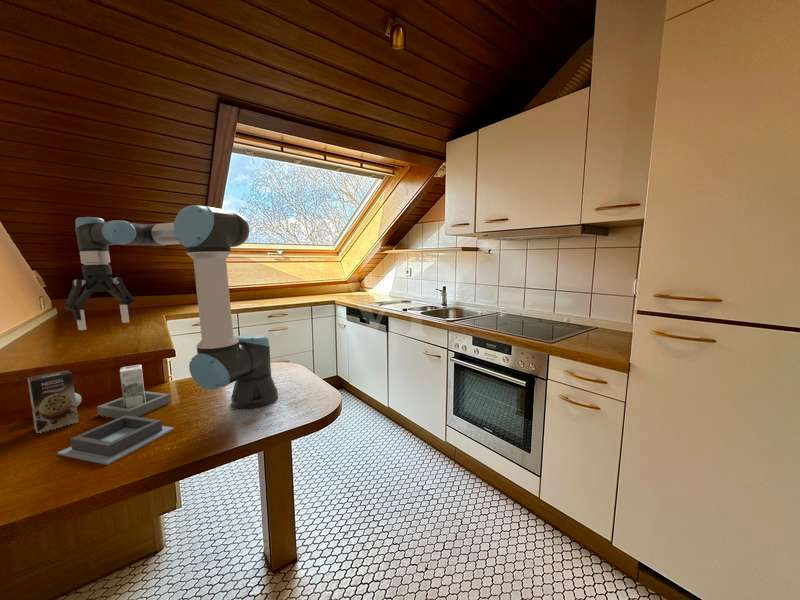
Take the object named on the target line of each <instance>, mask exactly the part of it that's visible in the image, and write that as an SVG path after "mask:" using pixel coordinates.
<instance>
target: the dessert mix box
mask: <svg viewBox="0 0 800 600" xmlns="http://www.w3.org/2000/svg"><path fill="white" fill-rule="evenodd" d="M27 382H28V383H27V384H28V391H29V397H30V403H31V404H30V405H31V406H30V407H31V412H32V413H31V414H32V421H33V426H34V427H33V428H34V430H35V432H36V433H40V434H43V433H42V432H44V433H47V432H49V430H51V431H54V430H57V429H56V428H58V429H60V427H61V428H64V427H63V426H65V427H67V426H66V425H68V426H71V425H70V424H72V425H74V423H75V424H78V423H80V422H79V416H78V415H79V414H78V408H77V407H78V406H76V399H75V393H76V392H75V385H74V378H73V373H72V372H71V371H70V370H69V369H65V370H64V369H63V370H60V371H54V372H49V373H44V374H39V375H32V376H27ZM53 429H54V430H53ZM46 431H47V432H46Z"/></svg>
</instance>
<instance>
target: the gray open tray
mask: <svg viewBox="0 0 800 600" xmlns="http://www.w3.org/2000/svg"><path fill="white" fill-rule="evenodd" d="M144 392H145V400H146V403H143V404H141V405H138V406H136V407H134V408H131V409H127V408H124V401H123V396H122V397H119V398H116V399H114V400H111V401H109V402H105V403H103V404H100V405H97V407H96V409H97V416H98V415H100V416H99V417H104V416H105V418H110V417H111V419H117V418H120V417H122V416H124V415H129V416H136V417H141V416H144V415H145V414H147V413H150V412H153V411H154V410H157V409H159V408H161V407H163V406H166V405H169V404H170V403H172V401H171V400H172V399H171V393H164V392H157V391H156V392H154V391H146V390H144Z"/></svg>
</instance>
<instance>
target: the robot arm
mask: <svg viewBox="0 0 800 600" xmlns="http://www.w3.org/2000/svg"><path fill="white" fill-rule="evenodd" d="M74 222H75V228H74V229H75V234H76V239H77V246H78V250H79V257H80V263H81V264H83V265H82V266H81V270H82V271H81V272H82V276H83V279H73V280H72V287H71V290H70V292H69V294H68V295H67V296H68V297H67V298H66V301H65V304H64V306H63V309H65V310H68V311H69V310H70V311H72V316H73V320H74V321H76V325H77V329H78V331H85V330H86V331H87V324H86V317H85V316H86V315H85V311H84V309H82V308H83V306H84V305H85V303H86V302H87V301H88V300H89V298H90V297H91V296H92V295H93V294H94V293H99V292H107V293H109V294H110V295H112V297H114V299H116V300H117V301H118V302H119V303H120V304H119V310H120V316H121V318H120V319H121V323H124V324H125V323H130V315H129V313H131V308H130V305H131V304H132V303H133V302H136V300H135V298H134V297H133V294H131V292H130V291H129V289H128V288H127V287H126V285H125V284H124V281H123V278H122V277H120V276H119V277H114V278H113V277H112V276H113V275H112V274H113V272H112V266H111V265H110V263H111V258H110V257H111V256H110V251H109V250H110V249H109V246H115V245H116V246H117V245H119V246H121V245H122V246H154V247H161V246H167V245H168V246H169V245H182V246H183V247H185V251H186V253H185V254H186V255H187V256H189V257H190V258H191V259H192V260H193V269H194V280H195V288H196V297H197V307H198V308H197V309H198V316H199V325H200V335H201V340H200V341H198V343H197V345H196V354H195V355H194V356H193V357H192V358H191V359H190V361H189V365H188V367H189V368H188V369H189V373H190V376H191V378H192V379H193V381H194V383H196V384H197V385H198V386H199V387H201V388H203V389H205V390H209V391H215V390H219V389H221V388H224V387H226V386H228V385H230V384H233V383H234V385H233V389H232V394H231V398H230V400H231V403H230V404H231V406H232V407H234V408H236V409H240V410H241V409H242V410H243V409H244V410H246V409H256V408H260V407H264V406H267V405H270V404H272V403H273V402H275V401H277V399H278V398H277V397H279V394H278V393H279V392H278V388H277V387H276V385H275V382H274V379H273V377H272V366H271V352H270V351H271V350H270V348H271V345H270V341H269V338H268V337H267V336H266V335H258V334H247V335H246V334H244V335H243V334H242V335H236V336H235V335H234V329H233V320H232V318H233V317H232V307H231V298H230V287H229V275H228V266H227V258H228V257H229V256H230V255H231V254H232V249H231V248H235V247H236V248H237V247H239V246H241V245H243V244H244V243H245V242H247V240H248V238H249V235H250V225H249V223H248V221H247V219H246V218H245V217H244V216H243V215H242V214H241V213H239V212H237V211H234V210H230V209H223V208H217V207H213V206H207V205H196V204H195V205H188V206H185V207H183V208H182V209H181V210H180V211H179V212H178V214H177V215H176V217H175V218H174V222H166V223H165V222H164V223H150V224H148V223H137V222H136V223H135V222H129V221H126V220H121V219H119V220H117V219H116V220H114V219H113V220H108V221H105V219H103V218H100V217H94V216H93V217H92V216H83V217H82V216H81V217H77V218H76V219H75V221H74ZM113 284H114V285H115V286H116V287H115V286H114V285H113ZM83 286H86V287H85V288H84V289H83V291H82V293H81V290H82V287H83ZM116 288H117V289H118V290H117V289H116ZM80 293H81V294H80ZM79 295H80V296H79ZM276 398H277V399H276ZM274 400H275V401H274ZM271 402H272V403H271Z"/></svg>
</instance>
